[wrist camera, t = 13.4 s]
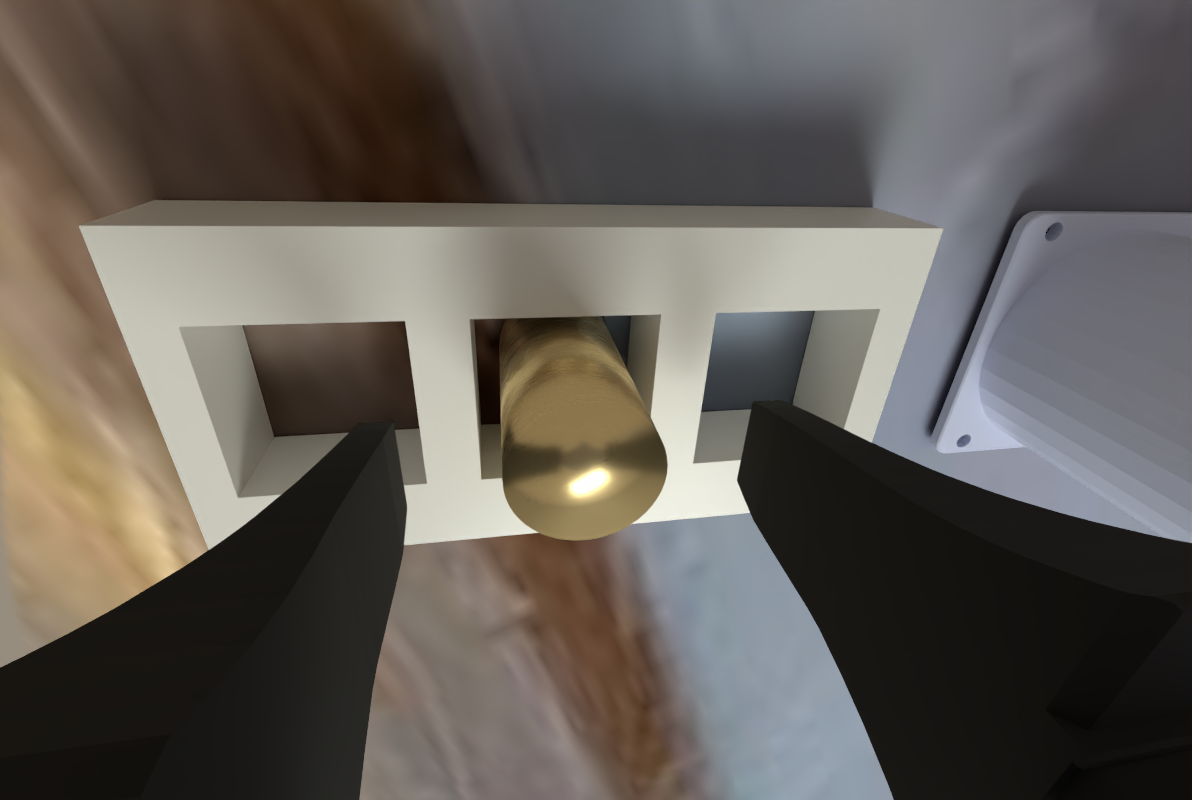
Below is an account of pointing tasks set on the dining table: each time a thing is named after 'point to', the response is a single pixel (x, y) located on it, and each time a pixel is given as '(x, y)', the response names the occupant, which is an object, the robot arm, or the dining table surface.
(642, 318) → the rack
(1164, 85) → the dining table surface
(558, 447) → the brass cylinder
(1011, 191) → the dining table surface
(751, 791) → the dining table surface
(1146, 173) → the dining table surface
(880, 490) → the robot arm
